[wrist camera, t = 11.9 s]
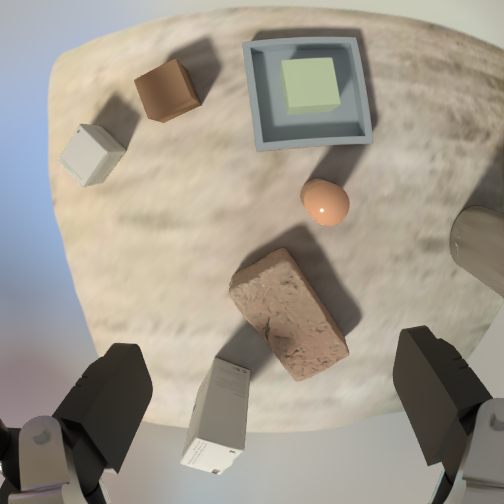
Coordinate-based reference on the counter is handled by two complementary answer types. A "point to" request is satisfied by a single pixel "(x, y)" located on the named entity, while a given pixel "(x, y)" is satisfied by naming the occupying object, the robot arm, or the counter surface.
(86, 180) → the small box
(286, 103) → the green block
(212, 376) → the skincare box
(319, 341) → the brick
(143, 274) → the counter surface
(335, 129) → the tray
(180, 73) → the walnut cube
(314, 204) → the peach capsule
